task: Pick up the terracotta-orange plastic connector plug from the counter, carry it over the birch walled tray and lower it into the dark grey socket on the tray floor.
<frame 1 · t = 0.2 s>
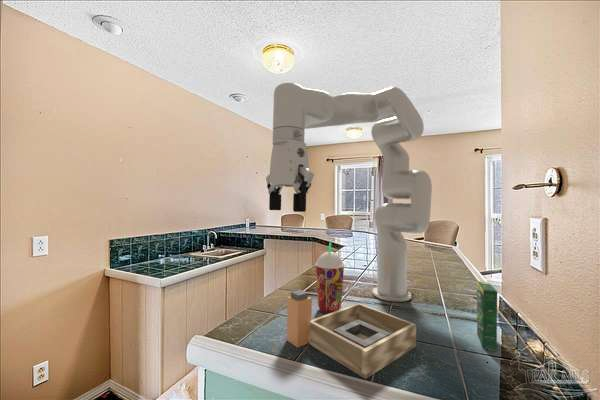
hand: (286, 210, 65), 30 cm above the counter, fingers open, 9 cm apart
connector: (298, 341, 63), on the counter
smoothie: (329, 311, 81), on the counter
walled tray: (361, 344, 62), on the counter
coffee box: (485, 342, 64), on the counter
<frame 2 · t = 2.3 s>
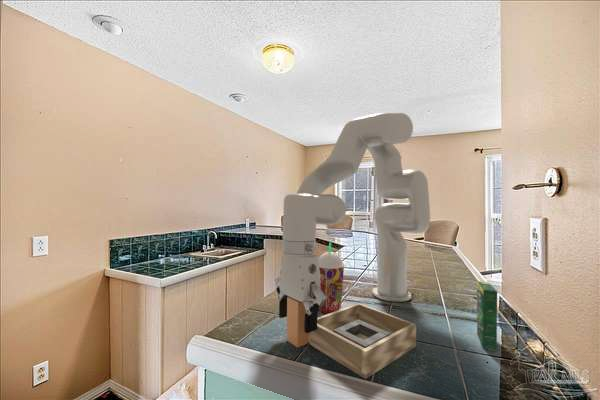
hand: (297, 323, 63), 4 cm above the counter, fingers open, 8 cm apart
nothing on the counter moved.
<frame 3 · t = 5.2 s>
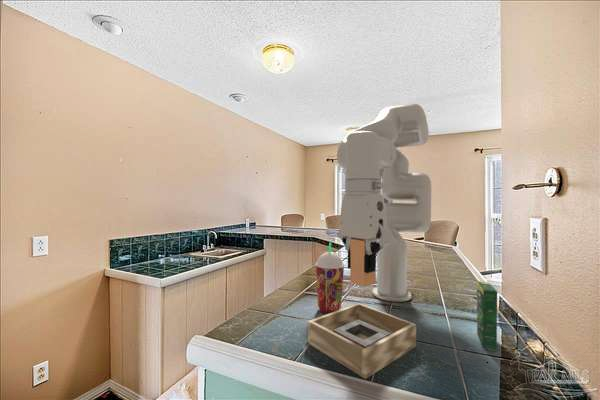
hand: (361, 268, 62), 17 cm above the counter, fingers closed on connector, 4 cm apart
connector: (362, 282, 62), point 14 cm above the counter, touching gripper
everything else where it was.
when the fingers open (5 cm above the counter, at t = 7.6 s): connector stays where it is, resting on walled tray.
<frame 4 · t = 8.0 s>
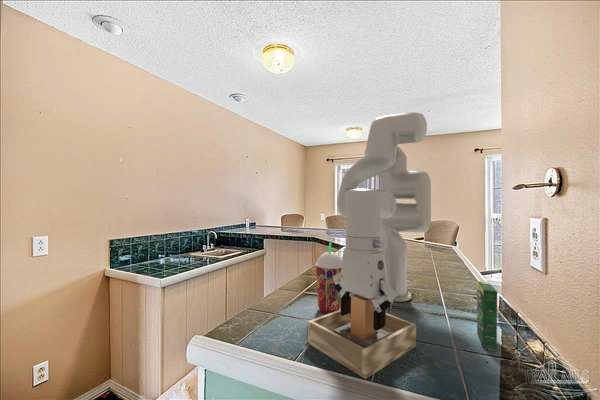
hand: (361, 320, 62), 5 cm above the counter, fingers open, 8 cm apart
connector: (363, 340, 62), point 1 cm above the counter, touching walled tray
everything else where it was.
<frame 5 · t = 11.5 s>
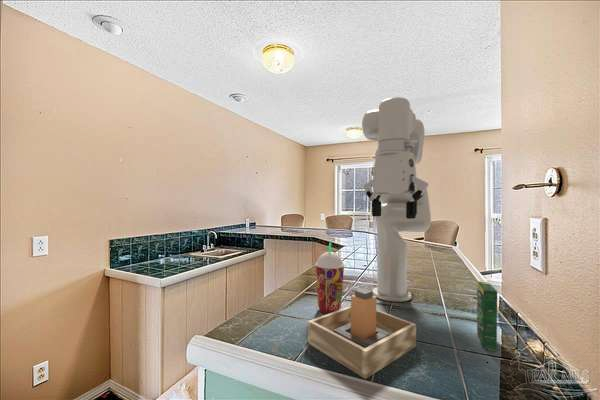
hand: (392, 217, 70), 28 cm above the counter, fingers open, 9 cm apart
nothing on the counter moved.
at the end: connector 0.7 cm off-centre on the walled tray, point 0.8 cm above the walled tray's base; connector tilted 0°; the gripper is holding nothing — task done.
